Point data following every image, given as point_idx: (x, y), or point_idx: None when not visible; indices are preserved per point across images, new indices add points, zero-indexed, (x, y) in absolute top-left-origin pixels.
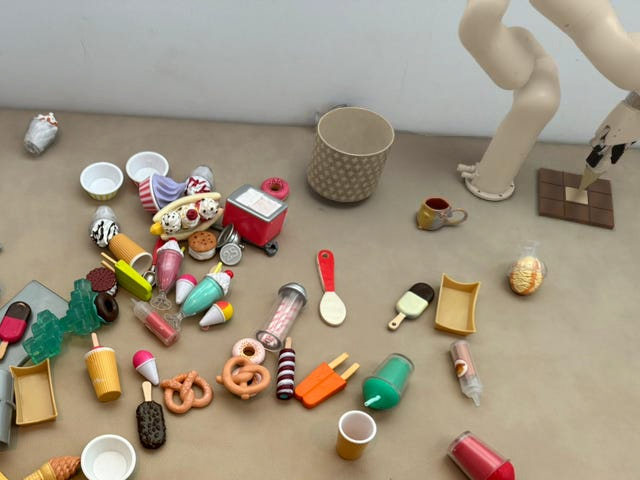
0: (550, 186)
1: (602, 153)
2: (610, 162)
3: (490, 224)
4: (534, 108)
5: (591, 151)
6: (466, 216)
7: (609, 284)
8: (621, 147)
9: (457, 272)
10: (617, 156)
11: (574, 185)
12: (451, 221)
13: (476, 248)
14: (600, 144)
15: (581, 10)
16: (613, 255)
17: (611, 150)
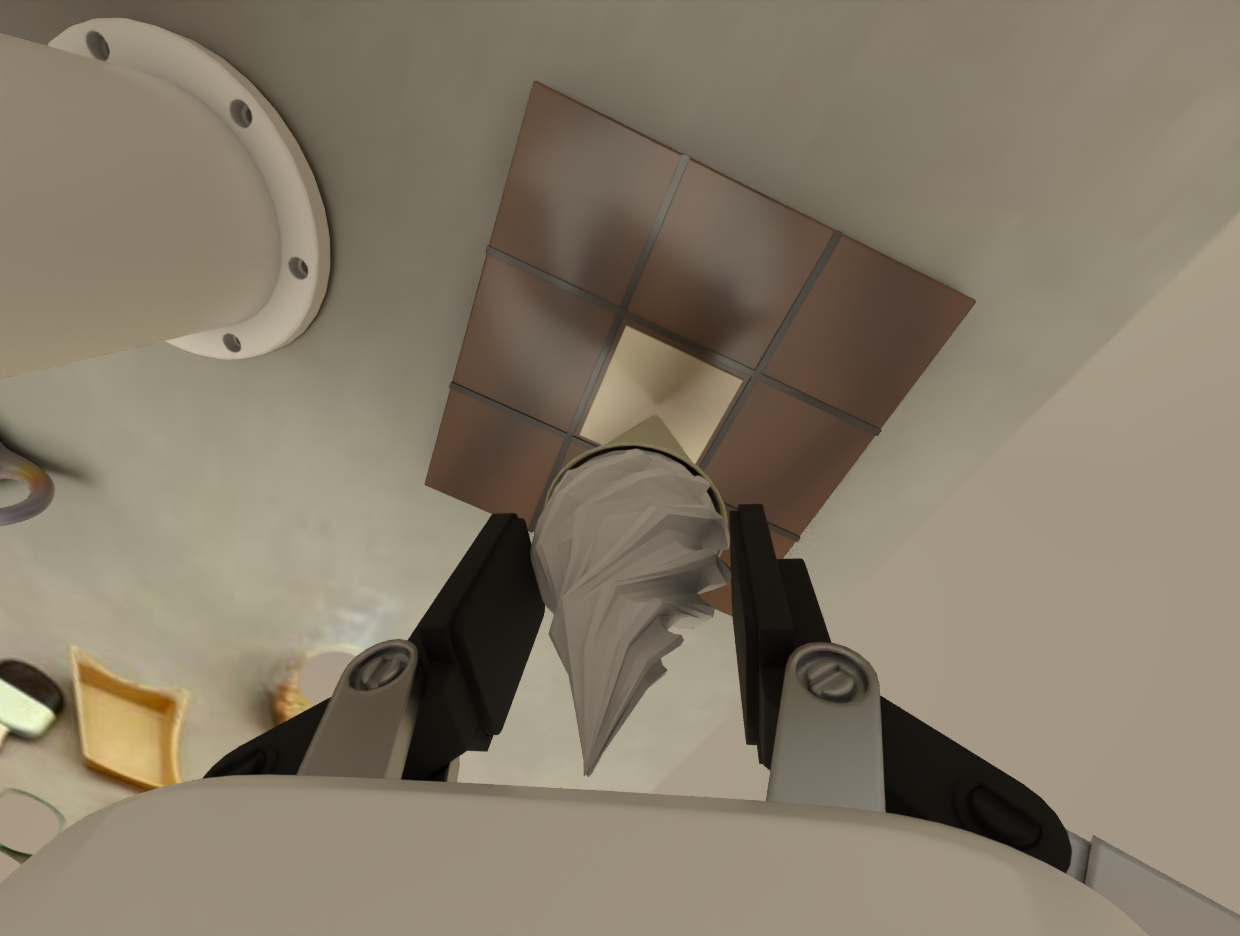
0: (534, 306)
1: (454, 761)
2: (700, 619)
3: (214, 488)
4: None
5: (446, 582)
6: (7, 524)
7: (583, 774)
8: (766, 753)
9: (115, 651)
10: (740, 681)
11: (693, 318)
12: (16, 478)
13: (166, 584)
14: (408, 729)
15: None
16: (661, 700)
17: (637, 701)
